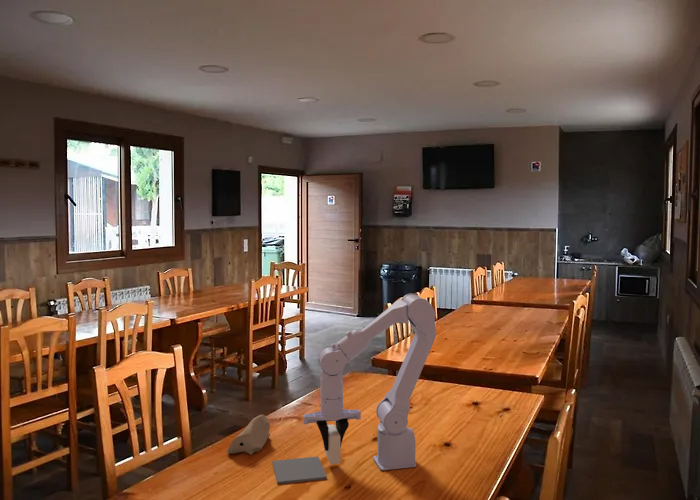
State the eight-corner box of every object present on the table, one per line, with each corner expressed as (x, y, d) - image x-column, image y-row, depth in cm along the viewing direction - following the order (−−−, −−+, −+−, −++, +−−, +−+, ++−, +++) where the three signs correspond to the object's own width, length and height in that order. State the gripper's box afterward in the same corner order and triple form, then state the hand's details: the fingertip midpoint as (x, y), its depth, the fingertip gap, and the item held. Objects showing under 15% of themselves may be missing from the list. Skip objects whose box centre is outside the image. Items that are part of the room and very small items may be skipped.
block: (334, 450, 156) (333, 424, 155) (340, 463, 148) (340, 435, 148) (324, 451, 155) (324, 425, 155) (330, 464, 148) (330, 436, 147)
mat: (318, 458, 157) (318, 456, 157) (326, 479, 146) (326, 476, 146) (272, 463, 155) (272, 460, 155) (277, 484, 143) (277, 481, 143)
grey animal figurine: (276, 439, 171) (276, 411, 170) (251, 459, 157) (250, 429, 156) (251, 435, 173) (250, 407, 173) (224, 455, 160) (223, 425, 159)
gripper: (356, 389, 156) (356, 439, 157) (300, 393, 153) (301, 445, 154) (362, 397, 149) (363, 450, 150) (305, 402, 146) (305, 456, 147)
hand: (332, 448), depth 152 cm, fingers closed on block, 2 cm apart
